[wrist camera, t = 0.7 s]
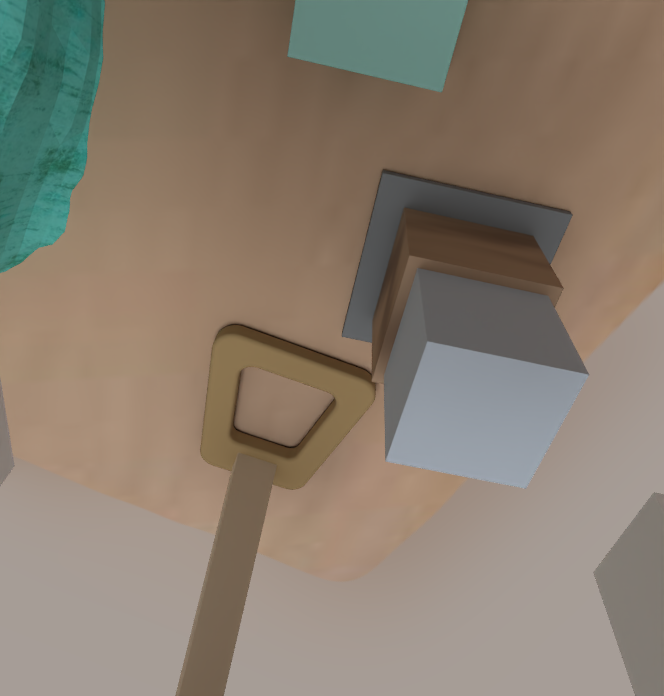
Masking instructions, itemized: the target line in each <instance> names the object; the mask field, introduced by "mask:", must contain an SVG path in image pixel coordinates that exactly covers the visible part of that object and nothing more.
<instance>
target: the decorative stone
mask: <svg viewBox="0 0 664 696" xmlns="http://www.w3.org/2000/svg"><path fill="white" fill-rule="evenodd" d="M104 9H105V1H104V0H0V273H1V272H5V271H7V270H8V269H10V268H12V267H14V266H16V265H18V264H20V263H21V262H23V261H24V260H25V259H26V258H27V257H28V256H29V255H30V254H32V253H33V252H34V251H35V250H36V249H38V248H39V247H43V246H48V245H52V244H53V243H54V242H55V241H56V240H57V239H58V238H59V237H60V236H61V235H62V234H63V233H64V232H65V228H66V223H67V218H68V214H69V208H70V196H71V193H72V190H73V189H74V188H75V186H76V185H77V184H78V182H79V181H80V180H81V178H82V177H83V174H84V170H85V166H86V161H87V140H88V131H89V122H90V117H91V111H92V106H93V103H94V99H95V96H96V92H97V88H98V84H99V79H100V73H101V67H102V62H103V31H102V30H103V21H104Z"/></svg>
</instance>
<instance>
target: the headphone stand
mask: <svg viewBox="0 0 664 696" xmlns="http://www.w3.org/2000/svg"><path fill="white" fill-rule="evenodd" d="M246 367H257V368H260V369H263V370H266V371H269V372H271V373H274V374H277V375H280V376H283V377H286V378H289V379H291V380H294V381H297V382H300V383H303V384H306V385H309V386H311V387H314V388H317V389H320V390H323V391H326V392H328V393H330V394H332V395H333V396H334V398H335V399H334V401H333V402H332V403H331V405H330V406H329V407H328V408H327V410H326V411H325V412H324V413H323V415H322V416H321V417H320V419H319V420H318V421H317V422H316V424H315V425H314V426H313V428H312V429H311V430H310V431H309V433H308V434H307V435H306V437H305V438H304V439H303V440H302V442H301V443H300V444H299V445H298V446H297V447H295V448H287V447H284V446H281V445H278V444H275V443H272V442H269V441H266V440H263V439H260V438H257V437H254V436H250V435H247V434H244V433H241V432H239V431H237V430H236V429H235V428H234V426H233V420H234V414H235V407H236V401H237V394H238V388H239V381H240V375H241V370H242V369H244V368H246ZM375 395H376V385H375V382H372V376H371V374H369V373H368V372H367V371H365V370H363V369H361V368H358V367H355V366H352V365H350V364H347V363H344V362H341V361H338V360H336V359H333V358H330V357H327V356H324V355H322V354H319V353H316V352H313V351H311V350H308V349H305V348H302V347H299V346H297V345H294V344H291V343H288V342H285V341H283V340H280V339H277V338H274V337H272V336H269V335H266V334H263V333H260V332H258V331H255V330H252V329H249V328H247V327H244V326H240V325H231V326H227V327H225V328H223V329H222V330H221V331H219V333H218V334H217V336H216V338H215V341H214V343H213V347H212V353H211V362H210V371H209V379H208V388H207V396H206V405H205V414H204V422H203V431H202V439H201V448H200V453H201V456H202V458H203V459H204V460H205V461H206V462H207V463H209V464H211V465H213V466H217V467H220V468H223V469H226V470H229V471H231V475H230V479H229V483H228V487H227V491H226V495H225V499H224V503H223V507H222V511H221V515H220V519H219V523H218V527H217V531H216V535H215V539H214V544H213V548H212V551H211V556H210V559H209V563H208V567H207V571H206V576H205V580H204V583H203V587H202V591H201V595H200V599H199V603H198V608H197V611H196V615H195V619H194V624H193V628H192V632H191V635H190V639H189V644H188V648H187V651H186V655H185V659H184V663H183V668H182V671H181V675H180V679H179V683H178V687H177V691H176V695H175V696H224V692H225V688H226V683H227V679H228V674H229V670H230V666H231V662H232V657H233V653H234V648H235V644H236V640H237V635H238V631H239V627H240V622H241V618H242V614H243V610H244V605H245V601H246V597H247V592H248V588H249V584H250V579H251V575H252V571H253V566H254V562H255V558H256V553H257V549H258V545H259V540H260V536H261V532H262V527H263V523H264V519H265V514H266V510H267V506H268V501H269V497H270V493H271V488H272V484H273V485H276V486H279V487H282V488H285V489H291V490H294V489H299V488H301V487H303V486H304V485H305V484H306V483H307V482H308V480H309V479H310V478H311V477H312V476H313V474H314V473H315V472H316V471H317V470H318V468H319V467H320V466H321V465H322V464H323V462H324V461H325V460H326V459H327V458H328V456H329V455H330V454H331V453H332V452H333V450H334V449H335V448H336V447H337V446H338V444H339V443H340V442H341V441H342V440H343V438H344V437H345V436H346V435H347V434H348V432H349V431H350V430H351V429H352V428H353V426H354V425H355V424H356V423H357V422H358V420H359V419H360V418H361V417H362V416H363V414H364V413H365V412H366V411H367V410H368V408H369V407H370V406H371V405H372V403H373V402H374V400H375Z"/></svg>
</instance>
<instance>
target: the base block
mask: <svg viewBox="0 0 664 696" xmlns="http://www.w3.org/2000/svg"><path fill="white" fill-rule="evenodd" d="M417 268H420V269H425V270H429V271H434V272H439V273H443V274H448V275H453V276H458V277H462V278H467V279H472V280H476V281H481V282H486V283H490V284H495V285H500V286H504V287H509V288H514V289H518V290H523V291H528V292H532V293H537V294H542V295H546V296H549V298H550V300H551V302H552V304H553V306H554V308H555V306H556V304H557V301H558V299H559V297H560V295H561V293H562V291H563V289H564V288H563V286H562V285H561V283H560V281H559V279H558V278H557V276H556V274H555V272H554V271H553V269H552V267H551V266H550V264H549V262H548V260H547V259H546V257H545V255H544V253H543V252H542V250H541V248H540V246H539V245H538V243H537V241H536V240H535V238H534V236H532V235H528V234H523V233H519V232H514V231H509V230H505V229H500V228H496V227H491V226H487V225H482V224H477V223H473V222H468V221H464V220H459V219H455V218H450V217H446V216H441V215H436V214H432V213H427V212H423V211H418V210H414V209H409V208H405V207H404V209H403V213H402V216H401V220H400V224H399V227H398V231H397V234H396V238H395V241H394V245H393V249H392V252H391V256H390V259H389V263H388V266H387V270H386V273H385V277H384V281H383V284H382V288H381V291H380V295H379V298H378V302H377V306H376V309H375V313H374V316H373V320H372V382H376V383H381V384H384V374H385V370H386V367H387V364H388V361H389V358H390V354H391V351H392V348H393V345H394V342H395V338H396V335H397V332H398V329H399V326H400V322H401V319H402V316H403V313H404V310H405V306H406V303H407V300H408V297H409V294H410V290H411V287H412V284H413V281H414V278H415V274H416V271H417Z"/></svg>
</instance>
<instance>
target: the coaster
mask: <svg viewBox="0 0 664 696" xmlns="http://www.w3.org/2000/svg"><path fill="white" fill-rule="evenodd" d="M404 207H405V208H409V209H414V210H418V211H423V212H427V213H432V214H436V215H441V216H446V217H450V218H455V219H459V220H464V221H468V222H473V223H477V224H482V225H487V226H491V227H496V228H500V229H505V230H509V231H514V232H519V233H523V234H528V235H532V236H534V238H535V240H536V241H537V243H538V245H539V246H540V248H541V250H542V252H543V253H544V255H545V257H546V259H547V260H548V262H549V264H551V262H552V260H553V257H554V255H555V253H556V251H557V249H558V246H559V244H560V242H561V240H562V237H563V235H564V233H565V231H566V229H567V226H568V224H569V222H570V220H571V217H572V214H571V212H569V211H565V210H560V209H556V208H551V207H547V206H542V205H538V204H533V203H529V202H524V201H520V200H515V199H511V198H506V197H502V196H497V195H493V194H488V193H484V192H479V191H475V190H470V189H466V188H461V187H457V186H452V185H448V184H443V183H439V182H435V181H430V180H426V179H421V178H417V177H412V176H408V175H403V174H399V173H394V172H390V171H385V170H383V172H382V176H381V180H380V184H379V188H378V192H377V196H376V200H375V204H374V208H373V212H372V216H371V220H370V224H369V228H368V231H367V235H366V239H365V243H364V247H363V251H362V255H361V259H360V263H359V267H358V271H357V275H356V279H355V283H354V287H353V291H352V295H351V299H350V303H349V307H348V311H347V315H346V319H345V323H344V327H343V331H342V337H347V338H351V339H356V340H361V341H366V342H371V343H372V320H373V316H374V313H375V309H376V306H377V302H378V298H379V295H380V291H381V288H382V284H383V281H384V277H385V273H386V270H387V266H388V263H389V259H390V256H391V252H392V249H393V245H394V241H395V238H396V234H397V231H398V227H399V224H400V220H401V216H402V213H403V209H404Z"/></svg>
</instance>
